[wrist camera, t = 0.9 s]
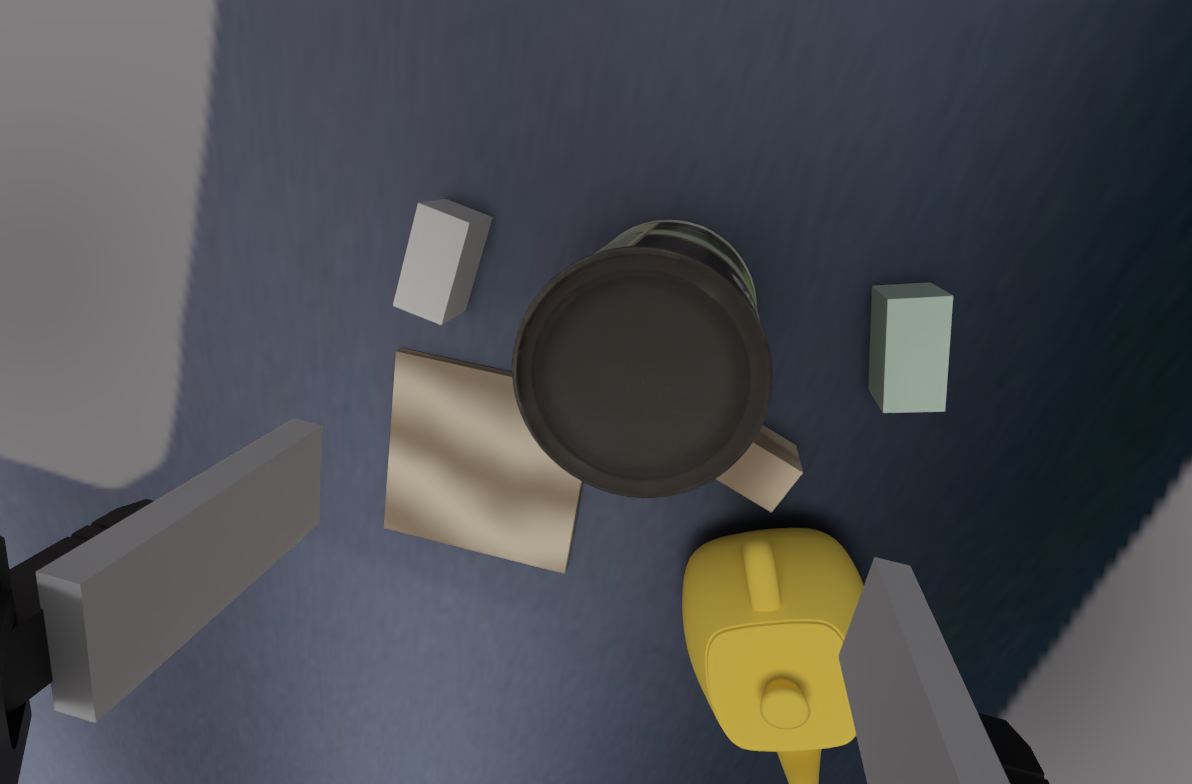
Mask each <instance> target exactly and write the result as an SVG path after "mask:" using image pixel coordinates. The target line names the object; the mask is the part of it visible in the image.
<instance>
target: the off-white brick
mask: <svg viewBox="0 0 1192 784" xmlns="http://www.w3.org/2000/svg"><path fill="white" fill-rule="evenodd" d="M492 218H493V217H491V216H489V215H486V214H484V213H481V212H478V211H476V210H473V209H471V208H468V207H466V206H463V205H461V204H458V203H455V202H453V201H450V200H448V199H440V200H433V201H427V202H420V203H418V205H417V209H416V213H415V217H414V221H413V226H412V230H411V234H410V238H409V242H408V246H407V250H406V254H405V258H404V262H403V266H402V270H401V275H400V279H399V283H398V287H397V291H396V295H395V299H394V303H393V306H395V307H397V308H400V309H402V310H405V311H407V312H410V313H412V314H415V315H417V316H420V317H422V318H425V319H427V320H430V321H432V322H435V323H437V324H440V325H443V324H444V323H446V322H448V321H449V320H451V319H453V318H455V317H456V316H458V315H460V314H461V313H463V312H465V311H466V308H467V305H468V301H469V298H470V294H471V291H472V287H473V284H474V280H475V277H476V274H477V270H478V267H479V263H480V260H481V256H482V253H483V249H484V246H485V242H486V239H487V235H488V232H489V228H490V225H491V221H492Z"/></svg>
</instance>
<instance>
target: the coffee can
mask: <svg viewBox="0 0 1192 784" xmlns="http://www.w3.org/2000/svg"><path fill="white" fill-rule="evenodd" d="M512 379H513V388H514V394H515V398H516V402H517V405H518V408H519V411H520V413H521V416H522V418H523V420H524V423H525V425H526V426H527V428H528V430H529V432H530V433H531V435H532V437H533V438H534V440H535V441H536V442H537V444H538V445H539V446H540V448H541V449H542V450H543V451H544V452H545V453H546V454H547V455H548V456H549V457H550V458H551V459H552V460H553V461H554V462H555V463H556V464H557V465H558V466H560V467H561V468H562V469H563V470H565V471H566V472H568V473H569V474H570V475H572V476H573V477H575V478H577V479H579V480H580V481H582V482H584V483H586V484H588V485H590V486H592V487H594V488H597V489H599V490H602V491H606V492H609V493H612V494H616V495H621V496H626V497H636V498H655V497H665V496H672V495H676V494H681V493H685V492H688V491H691V490H694V489H697V488H699V487H701V486H703V485H705V484H707V483H709V482H711V481H713V480H714V479H716V478H718V477H719V476H721V475H722V474H723V473H724V472H726V471H727V470H728V469H730V468H731V467H732V466H733V465H734V464H735V463H736V462H737V461H738V460H739V459H740V458H741V457H742V456H743V455H744V453H745V452H746V451H747V450H748V449H749V447H750V446H751V444H752V443H753V442H754V440H755V438H756V437H757V435H758V433H759V431H760V429H761V428H762V425H763V423H764V420H765V418H766V415H767V411H768V408H769V404H770V399H771V391H772V379H773V375H772V361H771V355H770V348H769V345H768V341H767V338H766V335H765V332H764V330H763V327H762V325H761V323H760V318H759V314H758V310H757V300H756V292H755V287H754V283H753V280H752V277H751V274H750V272H749V270H748V268H747V266H746V264H745V263H744V261H743V259H742V258H741V256H740V255H739V254H738V252H737V251H736V250H735V249H734V248H733V247H732V246H731V245H730V244H729V243H728V242H727V241H726V240H725V239H724V238H722V237H721V236H720V235H718V234H716V233H715V232H713V231H711V230H709V229H708V228H706V227H703V226H701V225H698V224H694V223H691V222H687V221H681V220H655V221H650V222H646V223H643V224H640V225H637V226H635V227H632V228H630V229H628V230H626V231H625V232H623V233H621V234H620V235H618V236H617V237H616V238H614V239H613V240H612V241H611V242H610V243H608V244H607V245H606V246H604V247H603V248H601V249H600V250H598V251H597V252H596V253H594V254H592V255H590V256H588V257H585V258H583V259H581V260H579V261H577V262H575V263H574V264H572V265H570V266H569V267H567V268H566V269H564V270H563V271H562V272H560V273H559V274H557V275H556V276H555V277H554V278H553V279H551V280H550V281H549V282H548V283H547V284H546V285H545V287H544V288H543V289H542V290H541V291H540V292H539V293H538V295H537V296H536V298H535V299H534V300H533V302H532V303H531V305H530V306H529V308H528V310H527V312H526V314H525V316H524V318H523V320H522V322H521V325H520V327H519V329H518V332H517V336H516V339H515V344H514V350H513V358H512Z"/></svg>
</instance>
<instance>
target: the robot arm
mask: <svg viewBox="0 0 1192 784" xmlns="http://www.w3.org/2000/svg"><path fill="white" fill-rule="evenodd" d="M321 454H322V425H319V424H315V423H311V422H307V421H303V420H298V419H294V418H293V419H291V420H289V421H288V422H286V423H284V424H283V425H281V426H279V427H278V428H276V429H274V430H273V431H271V432H269V433H268V434H266V435H264V436H263V437H261V438H259V439H258V440H256V441H254V442H253V443H251V444H249V445H247V446H246V447H244V448H242V449H241V450H239V451H237V452H236V453H234V454H232V455H231V456H229V457H227V458H226V459H224V460H222V461H221V462H219V463H217V464H216V465H214V466H212V467H211V468H209V469H207V470H206V471H204V472H202V473H200V474H199V475H197V476H195V477H194V478H192V479H190V480H189V481H187V482H185V483H184V484H182V485H180V486H179V487H177V488H175V489H174V490H172V491H170V492H169V493H167V494H165V495H164V496H162V497H160V498H159V499H157V500H155V501H152V500H149V499H145V500H142V501H139V502H135V503H132V504H129V505H126V506H123V507H120V508H117V509H115V510H113V511H111V512H109V513H108V514H106V515H104V516H102V517H101V518H99V519H97V520H95V521H94V522H92V524H91V526H88V525H87V526H85V527H83V528H81V529H80V530H78V531H76V532H74V533H73V534H72V536H71V537H66V538H64V539H62V540H60V541H59V542H57V543H55V544H53V545H52V546H50V547H48V548H46V549H45V550H43V551H41V552H39V553H38V554H36V555H34V556H32V557H31V558H29V559H27V560H25V561H24V562H22V563H20V564H18V565H17V566H15V567H13V568H11V569H10V570H9V565H8V559H7V552H6V546H5V539H4V538H3V537H2V536H0V784H18V779H19V774H20V769H21V765H22V760H23V755H24V750H25V745H26V740H27V735H28V730H29V726H30V721H31V716H32V715H31V708H30V701H29V699H30V698H32V697H33V696H34V695H35V694H37V693H38V692H39V691H41V690H42V689H43V688H44V687H46V686H47V685H48V684H50V683H51V687H52V695H53V702H54V709H55V711H58V712H61V713H65V714H68V715H71V716H75V717H78V718H81V719H85V720H88V721H91V722H94V723H96V722H97V721H99V720H100V719H101V718H102V717H103V716H104V715H105V714H106V713H107V712H109V711H110V710H111V709H112V708H113V707H114V706H115V705H116V704H118V703H119V702H120V701H121V700H122V699H123V698H124V697H125V696H127V695H128V694H129V693H130V692H131V691H132V690H133V689H134V688H135V687H137V686H138V685H139V684H140V683H141V682H142V681H143V680H144V679H146V678H147V677H148V676H149V675H150V674H151V673H152V672H153V671H155V670H156V669H157V668H158V667H159V666H160V665H161V664H162V663H163V662H165V661H166V660H167V659H168V658H169V657H170V656H171V655H172V654H174V653H175V652H176V651H177V650H178V649H179V648H180V647H181V646H182V645H184V644H185V643H186V642H187V641H188V640H189V639H190V638H191V637H193V636H194V635H195V634H196V633H197V632H198V631H199V630H200V629H202V628H203V627H204V626H205V625H206V624H207V623H208V622H209V621H210V620H212V619H213V618H214V617H215V616H216V615H217V614H218V613H219V612H221V611H222V610H223V609H224V608H225V607H226V606H227V605H228V604H229V603H231V602H232V601H233V600H234V599H235V598H236V597H237V596H238V595H240V594H241V593H242V592H243V591H244V590H245V589H246V588H247V587H249V586H250V585H251V584H252V583H253V582H254V581H255V580H256V579H257V578H259V577H260V576H261V575H262V574H263V573H264V572H265V571H266V570H268V569H269V568H270V567H271V566H272V565H273V564H274V563H275V562H277V561H278V560H279V559H280V558H281V557H282V556H283V555H284V554H285V553H287V552H288V551H289V550H290V549H291V548H292V547H293V546H294V545H296V544H297V543H298V542H299V541H300V540H301V539H302V538H303V537H304V536H306V535H307V534H308V533H309V532H310V531H311V530H312V529H313V528H315V527H316V526H317V525H318V524H319V516H320V485H321ZM838 657H839V662H840V666H841V670H842V675H843V679H844V683H845V688H846V692H847V696H848V701H849V705H850V709H851V714H852V718H853V722H854V727H855V731H856V735H857V740H858V744H859V748H860V753H861V757H862V762H863V766H864V770H865V775H866V779H867V783H868V784H1049V782H1048V780H1046V779H1044V772H1043V770H1042V769H1041V767H1040V765H1039V763H1038V761H1037V759H1036V757H1035V756H1034V753H1033V751H1032V749H1031V747H1030V746H1029V745H1028V744H1027V743H1026V742H1025V741H1024V740H1023V739H1022V737H1021V736H1020V735H1019V734H1018V733H1017V732H1016V731H1015V730H1014V729H1013V728H1012V727H1011V725H1010V724H1009V723H1008V722H1007V721H1006V720H1003V719H999V718H995V717H992V716H988V715H984V714H980V713H977V711H976V709H975V706H974V704H973V702H972V700H971V698H970V695H969V693H968V691H967V689H966V687H965V685H964V682H963V680H962V678H961V676H960V674H959V671H958V669H957V667H956V665H955V663H954V661H953V658H952V656H951V654H950V652H949V650H948V648H947V645H946V643H945V641H944V639H943V637H942V634H941V632H940V630H939V628H938V626H937V624H936V621H935V619H934V617H933V615H932V613H931V610H930V608H929V606H928V604H927V602H926V600H925V597H924V595H923V593H922V591H921V589H920V587H919V584H918V582H917V580H916V578H915V576H914V573H913V571H912V569H911V567H910V566H909V565H905V564H901V563H896V562H892V561H888V560H884V559H880V558H875V557H874V560H873V563H872V565H871V568H870V571H869V574H868V576H867V579H866V582H865V585H864V587H863V590H862V593H861V595H860V598H859V601H858V604H857V606H856V609H855V612H854V615H853V617H852V620H851V623H850V626H849V628H848V631H847V634H846V637H845V639H844V642H843V645H842V647H841V650H840V653H839V656H838Z"/></svg>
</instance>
